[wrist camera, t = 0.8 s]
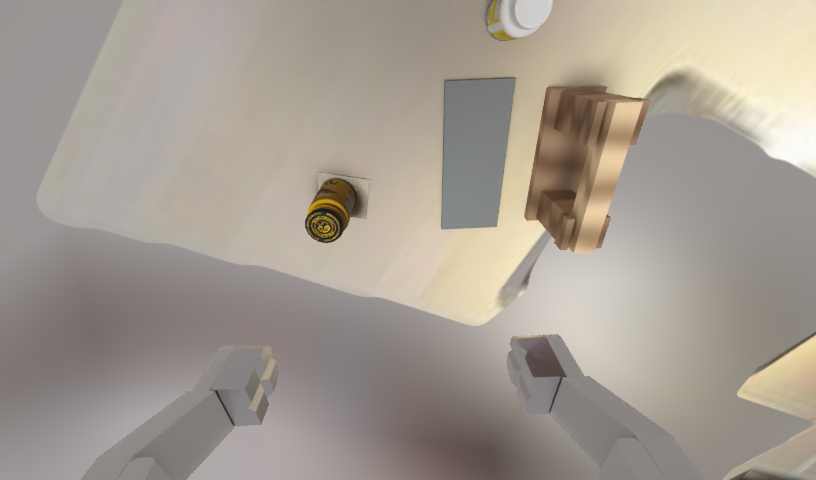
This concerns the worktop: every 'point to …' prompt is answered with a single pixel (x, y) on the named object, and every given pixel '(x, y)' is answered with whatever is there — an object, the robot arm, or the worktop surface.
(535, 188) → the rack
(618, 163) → the rail
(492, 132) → the mat
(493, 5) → the supplement bottle
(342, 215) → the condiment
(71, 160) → the worktop surface
